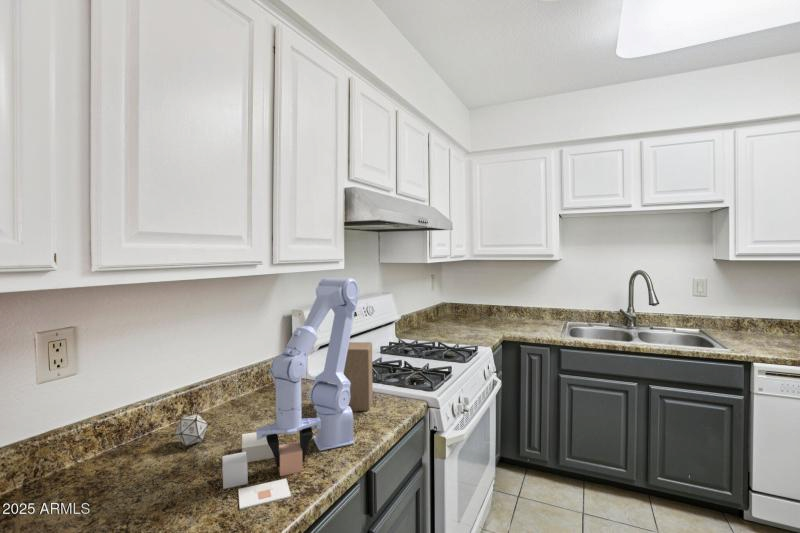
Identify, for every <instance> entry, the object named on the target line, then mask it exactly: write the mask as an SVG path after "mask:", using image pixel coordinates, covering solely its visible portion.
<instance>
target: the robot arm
mask: <svg viewBox="0 0 800 533" xmlns="http://www.w3.org/2000/svg"><path fill="white" fill-rule="evenodd" d="M315 296H316V298H315V300H314V302H313V304H312V306H311V309H310V311H309V313H308V314H307V317H306V320H305V322H304V323H303V325H302V326H297V327H296V328H295V330H293V332H292V336H291V337H290V339H289V340H288V342H287V345H286V346H285V348H284V349H283V351H282V353H281V354H279V355H277V356H276V357H274V359H273V360H272V362H271V366H270V368H269V374H270V376H271V377H272V379H273V384H274V386H275V408H276V409H275V410H276V413H275V414H276V417H275V419H276V422H274V423H272V424H268V425H265V426H261V427H256V428H255V430H256V431H255V432H256V436H257V440H259V439H262V438H263V437H266V438H267V442H268V445H269V446H270V448H271V450H272V452H273V455H274V457H275V458H274V461H275V467H276V468H278V467H280V462H279V445H280V441H279V435H285V434H286V435H293V434H296V433H297V432H298V433H299V444H300V446H301V449H302V461H303V463H304V462H305V458H306V453H307V451H308V448H309V444H310V442H311V441H312V439H313V442H314V444H315V446H316V447H317V450H318V451H319V452H320V451H326V450H330V449H335V448H336V449H337V448H340V447H344V446H351V445H354V444H355V440H354V438H355V437H354V436H355V435H354V415H353V414H354V413H353V411H352V410H351V407H350V406H348V405H349V402H350V384H351V383H350V381H349V380H348V379H347V378H346V376H345V375H344V368H345V362H346V357H347V351H348V346H349V342H350V338H351V335H352V334H351V333H352V329H353V328H352V327H353V323H354V317H355V311H356V310H357V305H358V300H359V296H360V288H359V286H358V282H357V281H356V280H355V279H354V278H350V277H349V278H336V277H327V276H325V277H323V278H321V279H320V281H319V282H318V285H317V287H316V288H315ZM330 310H332V311H333V313H334V316H333V321H332V327H331V333H330V337H329V343H328V347H327V351H326V352H327V353H326V357H325V364H324V368H323V371H322V372H321V373H319V374H318V375H316V376H315V377H314V382H313V385H312V387H311V389H310V390H309V391H310V392H309V401H310V404H312V405H313V409H314V410H315V411H316V417H314V418H313V417H310V418H302V379H303V378H304V376H305V375H306V373H307V369H308V366H307V364H308V361H309V358H308V357H309V356H310V353H311V352H312V349H313V347H314V346H315V344H316V342H317V340H318V335H317V330H318V329H319V327H320V326H321V324H322V323H323V321H324V320H325V318H326V317H327V315H328V313H329V311H330ZM313 429H316V435H314V432H313Z"/></svg>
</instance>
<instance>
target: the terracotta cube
mask: <svg viewBox="0 0 800 533" xmlns="http://www.w3.org/2000/svg"><path fill="white" fill-rule="evenodd" d="M279 462H280V467H277V468H278V472H279V476H280V477H284V476H288V475H295V474H297V473H298V474H299V473H302V472H303V471H304V470H303V464H304V462H303V461H302V449H301V446H300V440H299V441H294V442H288V443H285V444H284V443H283V444H279Z"/></svg>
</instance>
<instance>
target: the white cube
mask: <svg viewBox="0 0 800 533" xmlns="http://www.w3.org/2000/svg"><path fill="white" fill-rule="evenodd" d="M248 473H249V472H248V462H247V455H246V452H242V451H241V452H237V453H233V454H226V455H222V489H223V490H224V489H230V488H235V487H239V486H244V485H247V484H249V481H248V479H249V478H248V475H249V474H248Z"/></svg>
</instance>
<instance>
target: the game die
mask: <svg viewBox="0 0 800 533" xmlns="http://www.w3.org/2000/svg"><path fill="white" fill-rule="evenodd" d="M199 413H200V410H198V411H196V414H192V415H189V416H185V417H181V416H178V419H179V422H178V425H177V427H176V429H175V433H174V434H172V435H171V437H172V438H173V437H176V438H177V440H178V441H180V442H181V444H183V445H184V447H183V450H184V451H185V450H186V449H187V446H191V445H193V444H197V443H200V442H202V443H205V442H206V441H205V440H204V439H205V438H204V437H205V435H206V433H207V431H208V426H210V425H213V424H212V422H207V421H206V420H205V419H204V418H203V417H202V416H201V415H200V414H199Z"/></svg>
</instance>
